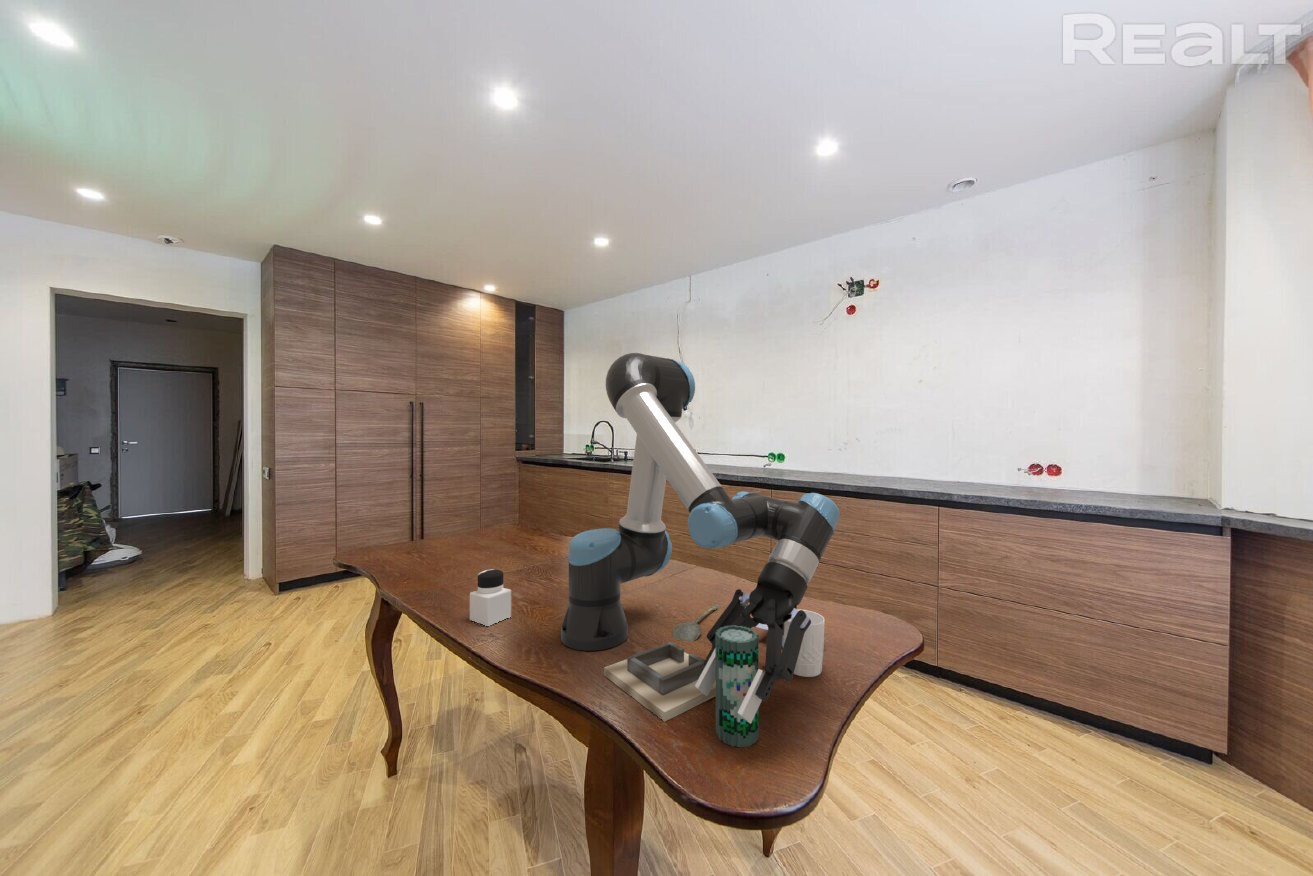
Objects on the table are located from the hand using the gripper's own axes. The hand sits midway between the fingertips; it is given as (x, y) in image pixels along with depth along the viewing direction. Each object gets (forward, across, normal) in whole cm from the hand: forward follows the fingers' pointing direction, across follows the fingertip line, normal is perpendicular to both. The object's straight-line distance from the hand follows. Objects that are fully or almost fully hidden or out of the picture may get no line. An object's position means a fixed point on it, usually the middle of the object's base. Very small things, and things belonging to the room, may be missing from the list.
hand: (721, 704), depth 66 cm
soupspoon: (-15, +33, -24) cm, 44 cm away
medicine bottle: (+12, +68, +4) cm, 69 cm away
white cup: (-16, +5, -24) cm, 29 cm away
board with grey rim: (+1, +18, -7) cm, 19 cm away
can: (+2, 0, -6) cm, 7 cm away
